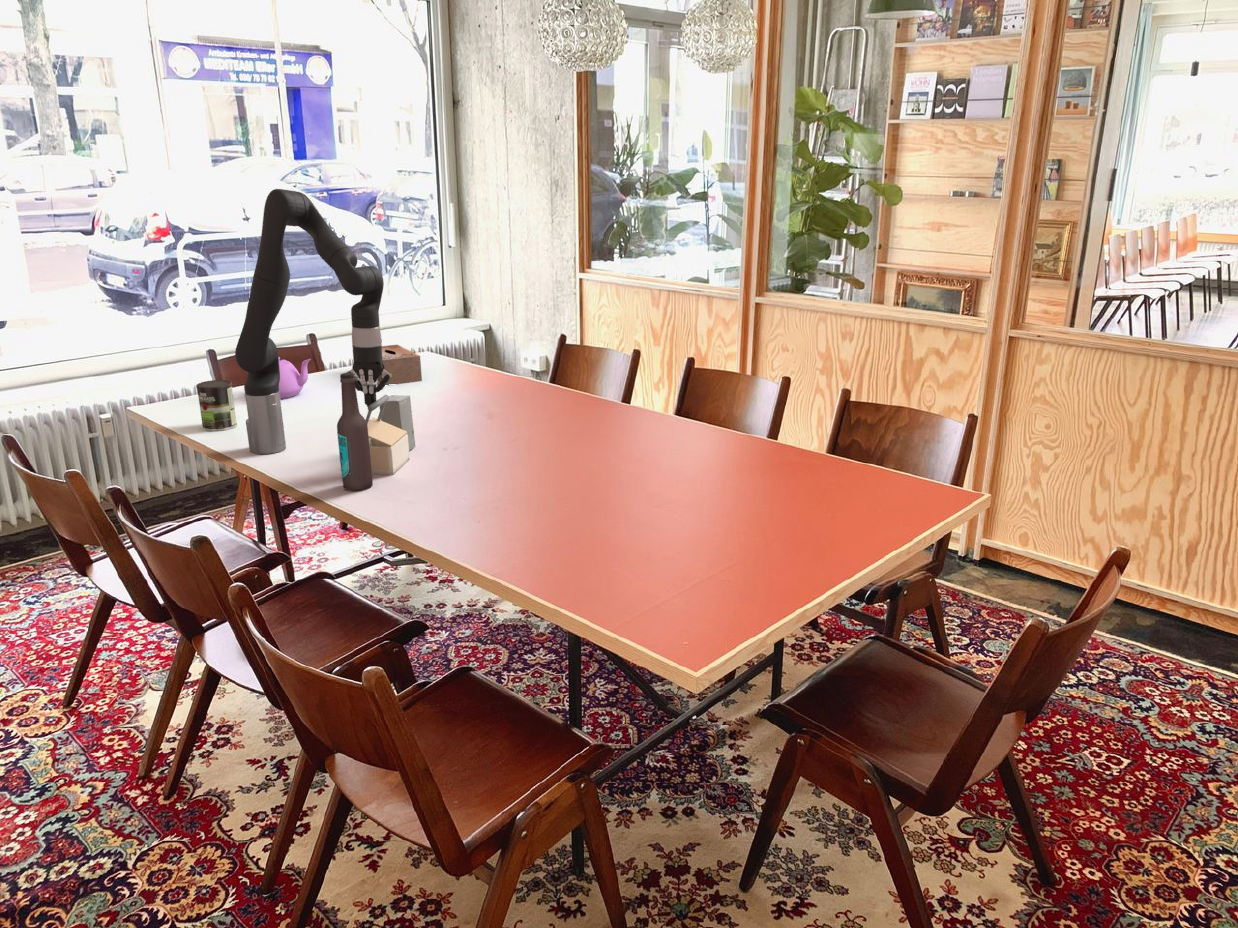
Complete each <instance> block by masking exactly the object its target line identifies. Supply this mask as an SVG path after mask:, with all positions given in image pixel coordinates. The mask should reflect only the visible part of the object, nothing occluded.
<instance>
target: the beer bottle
mask: <svg viewBox="0 0 1238 928" xmlns="http://www.w3.org/2000/svg"><path fill="white" fill-rule="evenodd" d="M339 376H340V377H339V378H340V381H339V382H340V383H341V410H342V411H341V415H340V417H339V418H338V421H337V424H336V429H337V430H336V431H337V433H336V435H337V442H338V445H337V446H338V452H339V463H340V472H341V479H342V480H341V481H342V487H343V489H345V490H347V491H350V492H361V491H365V490H367V489H370V488H371V487H372V486H373V482H374V481H373V480H374V479H373V474H372V468H371V458H370V447H369V437H368V427H367V423H366V418H365V417H364V416H363V414H361V413H360V408H359V402H358V395H357V389H356V388H355V378H354V377H355V376H354V374H353V373H346V372H343V373H341V374H340V375H339Z"/></svg>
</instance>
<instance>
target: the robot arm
mask: <svg viewBox="0 0 1238 928" xmlns="http://www.w3.org/2000/svg"><path fill="white" fill-rule="evenodd" d="M261 225H262V226H261V235H260V243H259V248H258V253H257V259H256V264H255V268H254V270H253V276H252V282H251V287H250V293H249V296H248V297H249V298H248V302H247V308H246V311H245V317H244V322H243V326H242V329H241V332H240V335H239V337H238V341H237V343H236V347H235V353H234V357H235V361H236V363H237V365H238V366H239V368H240V369H241V370H242V371H245V372H247V373H248V374H247V377H246V380H245V382H244V385H243V387H244V389H243V390H244V395H245V404H246V410H247V417H248V418H247V419H246V420H245V426H246V434H247V441H248V447H249V448H248V449H249V452H250V453H255V454H258V455H259V454H260V455H264V454H265V455H266V454H267V455H268V454H275V453H280V452H283V451H285V450H286V449H287V445H286V437H285V435H286V434H285V427H284V421H283V412H282V402H281V398H280V394H279V382H280V369H279V361H280V360H279V357H280V356H279V351H278V348H277V345H276V343H275V342H274V341H273V340H272V339H271V338H270V335H271V330H272V327H273V324H274V322H275V321H276V318H277V316H278V315H279V313H280V311H281V309H282V307H283V306H284V303H285V300H286V297H287V293H288V289H289V284H290V279H291V271H290V268H289V267H290V266H289V263H288V260H287V256H286V254H285V251H284V238H285V232H286V229H287V227H299V228H301V229H302V230H304V232H306V233H307V234H308V235H310V237H312V241H313V244H314V247H315V251H316V252H317V254H318V255H319V257H320V258H321V259H322V260H323V262H325V264H326V265H328V267H330V269H332V270H333V272H334V273H335V276H336V277H337V279H338V281H339V283H340V285H341V287H342V288H343V290H344V291H345V292H346V293H348V294H350V295H351V296H362V297H361V300H360V301H359V302H357V303H355V304H353V305H352V306H351V310H350V312H351V313H350V316H351V326H352V327H351V346H352V358H353V359H352V360H353V364H352V366H351V367H352V368H351V369H350V370H348V371H346V372H345V373H353V374H354V376H355V377H354V378H355V388H356V391H357V392H359V391H360V392H362V393H363V396H364V397H363V399H364V405H365V406H366V407H367V408H368V406H369V405H371V404H372V403H374V402H375V401H377V393H379V392H381V391H382V390H384V388H385V387H386V386H385V385H386V384H387V383H388V381H389V380H390V379H391V377H392V376H393V374H392V373H388V372H387V371H386V370H385V367H384V365H383V363H382V346H383V342H382V341H383V339H382V332H381V327H380V326H381V325H380V312H379V311H380V306H381V301H382V296H383V291H384V283H385V282H384V278H383V274H382V272H381V270H380V269H379V268H377V266H374V265H365V266H358V267H356V266H357V264H358V257H357V255H356V254H355V252H354V251H353V250H352V249H351V248H350V247H349V246H348V245H347V244H346V243H345V242H344V241H343V240H341V238H340V237H338V235H337V234H336V232H334V231H333V230H332V228H331V227H330V226H329V224H328V223H327V221H326V220H325V219H324V217H323V216H322V214H321V213H320V212H319V210H318V209H317V207H316V206H315V204H314V203H313V201H312V200H311V199H310V198H309V196H307V195H306V194H304V193H302V191H301V192H300V191H296V190H289V189H283V188H274V189H273V190H270V192H269V193H268V194H267V197H266V200H265V203H264V208H263V216H262V224H261ZM381 374H382V378H383V380H382V381H381V382H380V383H379V382H378V378H379V377H380V375H381Z"/></svg>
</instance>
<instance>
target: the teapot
mask: <svg viewBox="0 0 1238 928" xmlns="http://www.w3.org/2000/svg"><path fill="white" fill-rule="evenodd" d="M278 357H279V369H280V382H279V394H280V399H289V398H291V397H294V396H298V394H300V392H301V391H302V390H303V388H304V386H305V384H306V383H307V381H308V379H309V373H308V363H309V362H310V361H311V360H312V358H308V359H305V360H303V361H302V363H301V367H300V369H301V370H300V372H299V371H298V369H297V368H296V367H295V365H294V364H293V363H291V361H289V360H286V359H281V357H280V356H278ZM288 397H289V398H288Z"/></svg>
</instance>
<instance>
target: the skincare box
mask: <svg viewBox="0 0 1238 928" xmlns="http://www.w3.org/2000/svg"><path fill="white" fill-rule="evenodd" d="M388 396H389V400H387V401H386V404H385V407H384V411H383V414H382V417H381V421H383V422H386V423H388V424H390V425H393V426H395V427H397V428H400V429H402V430H405V431H407V434H408V444H409V452H410V451H411V450H412V449H414V448H416V440H415V429H414V422H413V421H414V420H413V411H412V402H411V401H412V400H411V395H408V394H406V395H397V394H396V395H395V394H394V395H391V394H390V395H388ZM381 406H382V405H380V406H379V410H380V409H381Z"/></svg>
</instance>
